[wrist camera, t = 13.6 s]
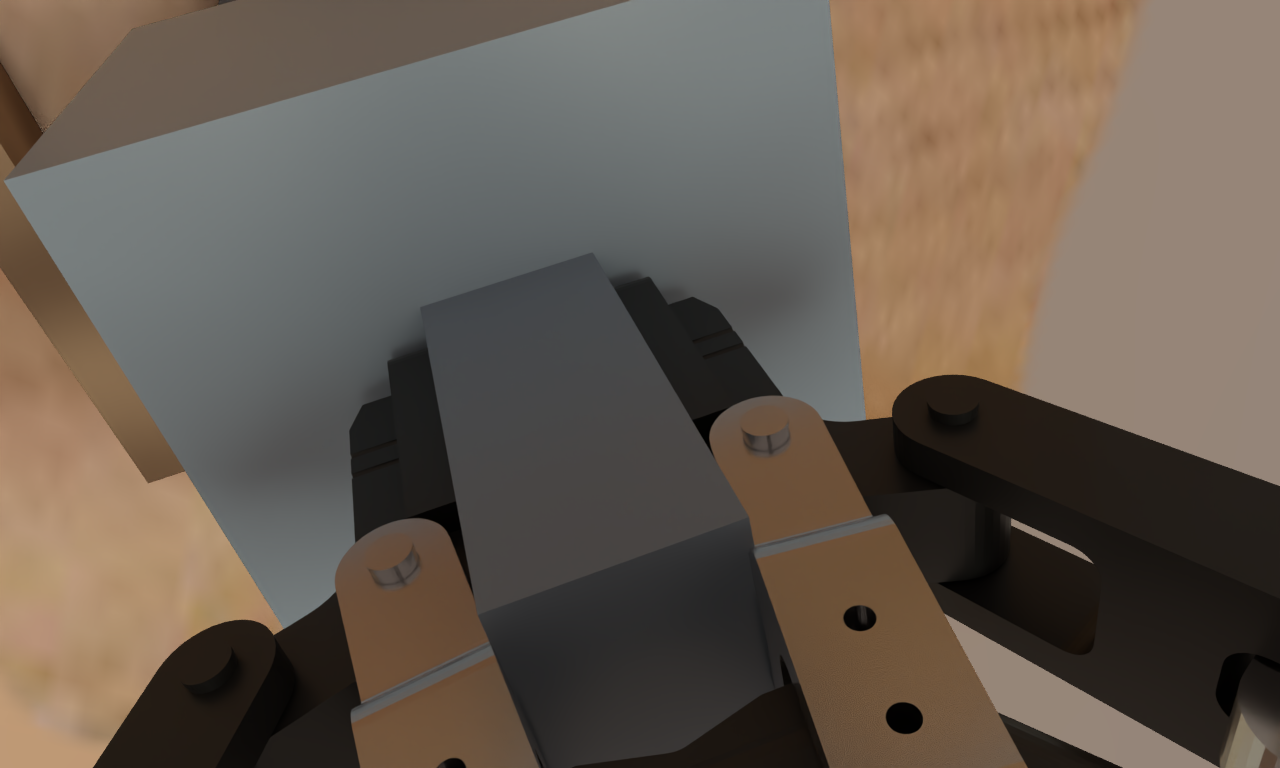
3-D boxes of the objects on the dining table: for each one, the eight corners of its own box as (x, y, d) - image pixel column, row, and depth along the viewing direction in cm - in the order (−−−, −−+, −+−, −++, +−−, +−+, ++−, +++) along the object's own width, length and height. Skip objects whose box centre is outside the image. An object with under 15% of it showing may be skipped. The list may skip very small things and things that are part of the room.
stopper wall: (-172, -81, 20) (-226, -62, 18) (-97, -99, 20) (-143, -84, 18) (160, 431, 28) (148, 483, 26) (210, 414, 28) (202, 465, 26)
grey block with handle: (132, 29, 18) (-265, 496, 6) (637, -110, 19) (1169, 44, 7) (336, 441, 24) (347, 1110, 12) (716, 315, 25) (1085, 802, 13)
